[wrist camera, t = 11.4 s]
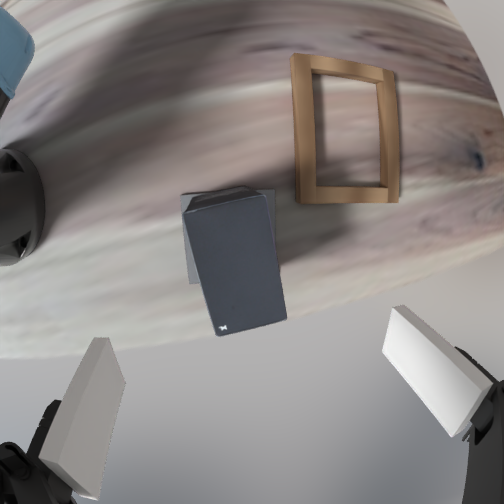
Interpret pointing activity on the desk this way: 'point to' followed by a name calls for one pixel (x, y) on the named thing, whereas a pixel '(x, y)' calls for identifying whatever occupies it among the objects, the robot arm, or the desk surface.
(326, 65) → the wooden frame
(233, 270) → the small box
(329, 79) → the desk surface
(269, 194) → the mat
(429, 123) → the desk surface
